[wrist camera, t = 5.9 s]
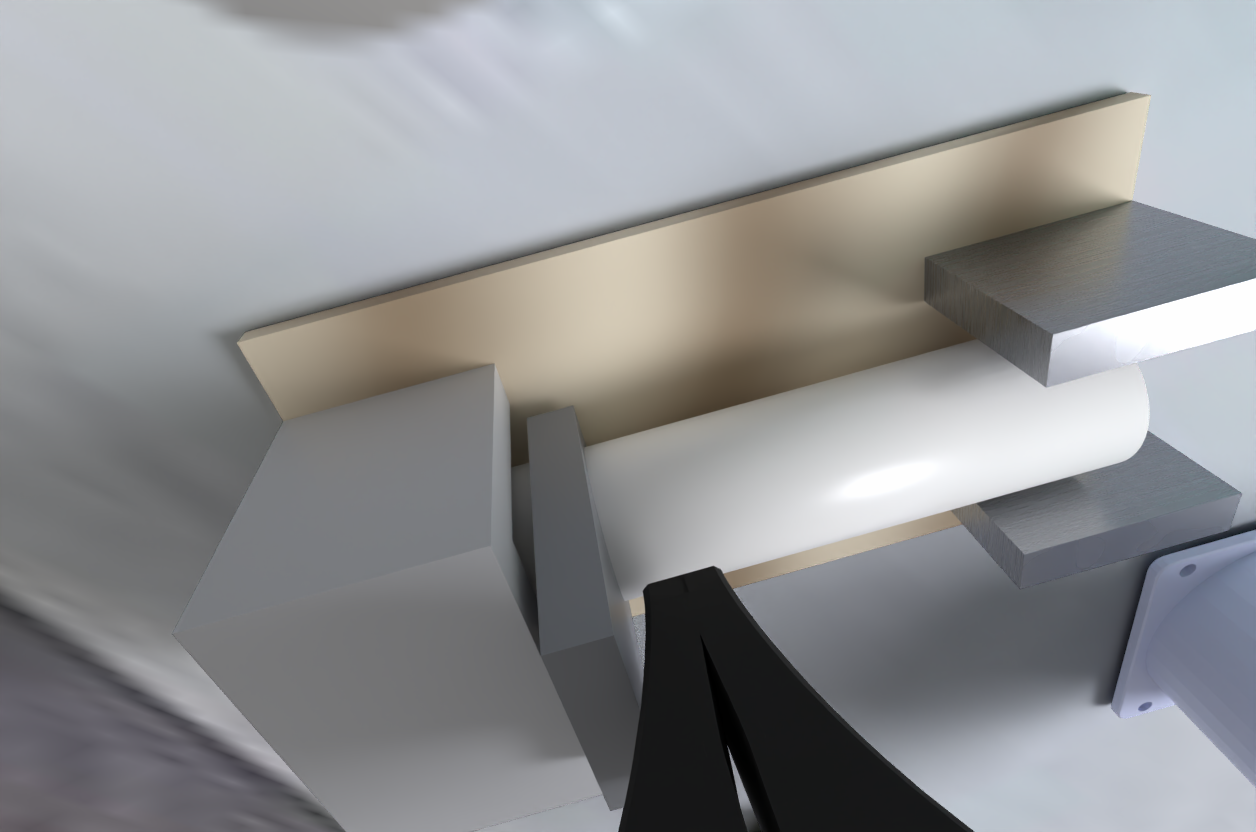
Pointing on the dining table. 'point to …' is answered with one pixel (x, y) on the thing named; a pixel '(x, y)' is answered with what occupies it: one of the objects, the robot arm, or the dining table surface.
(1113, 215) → the grey parallel plates
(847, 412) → the tube
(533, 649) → the socket
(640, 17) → the dining table surface
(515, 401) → the board
